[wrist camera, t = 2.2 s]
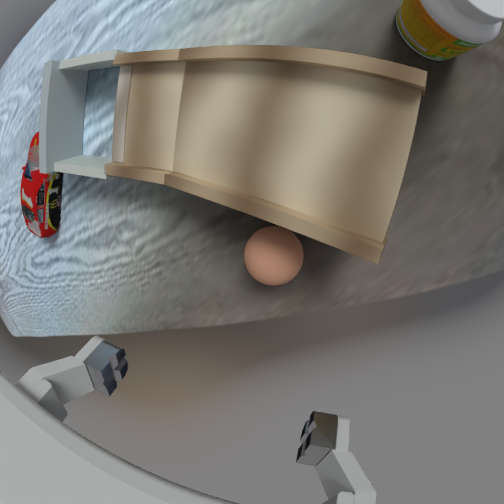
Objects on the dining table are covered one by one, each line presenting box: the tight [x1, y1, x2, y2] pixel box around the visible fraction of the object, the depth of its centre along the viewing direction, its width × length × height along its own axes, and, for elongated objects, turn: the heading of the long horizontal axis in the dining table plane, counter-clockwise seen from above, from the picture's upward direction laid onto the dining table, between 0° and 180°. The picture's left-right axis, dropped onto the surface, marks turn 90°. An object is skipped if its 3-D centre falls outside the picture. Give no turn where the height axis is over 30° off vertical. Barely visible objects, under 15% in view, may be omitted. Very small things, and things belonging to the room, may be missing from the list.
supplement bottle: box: [396, 0, 504, 61], centre depth 9 cm, size 5×5×10 cm
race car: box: [21, 132, 63, 238], centre depth 26 cm, size 13×5×4 cm, turn 158°
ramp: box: [104, 45, 427, 264], centre depth 16 cm, size 20×10×8 cm, turn 81°
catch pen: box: [39, 50, 131, 179], centre depth 20 cm, size 8×10×5 cm
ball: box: [244, 226, 304, 286], centre depth 22 cm, size 4×4×4 cm
